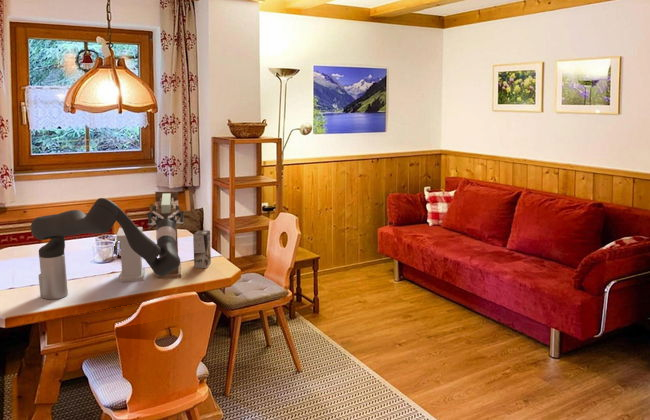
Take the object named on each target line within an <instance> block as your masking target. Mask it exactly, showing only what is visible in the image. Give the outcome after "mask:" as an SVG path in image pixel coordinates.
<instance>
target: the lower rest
mask: <svg viewBox="0 0 650 420" xmlns="http://www.w3.org/2000/svg"><path fill="white" fill-rule="evenodd" d="M137 227H138V229H139V230H140V231H141V232H142V233H143V234H144V229H143V226H137ZM115 237H116V239H115V240H116V241H118V240H120V249H121V257H120V263H121V271H120V275H119V278H118V279H119V281H118V282H119V283H124V282H140V281H141V282H142V281H144V279H145V275H146V272H145V270H146V269H145V268H143V258H142V257H141V256H139V255H138V254H137V253H136V252H134V251H133V250H132V248H131V247H130V245H129V243H128V241H127V238H126V236H125V233H124V231H123V229H122V227H118V231H117V233H116V236H115Z"/></svg>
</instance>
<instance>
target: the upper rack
mask: <svg viewBox="0 0 650 420" xmlns="http://www.w3.org/2000/svg"><path fill="white" fill-rule="evenodd" d="M154 193H155V194H154V195H155V201H154V202H155V203H154V206H155V205H156V213H159V214H160V215H161V216H162V215H171V214H172V213H174V212H176V205H177V206H179V192H178V190H166V191H164V190H163V191H161V190H160V191H154ZM166 193H171V209H170V213H162V211H161V203H162V194H166ZM176 220H178V218H177V219H176ZM178 244H179V243H178V224H176V240H175V248H176V251H177V253H178V254H179V246H178ZM159 257H161V256H160V255H159V256H158V258H159ZM181 265H182V264H181V261H180V265H179V267H178V268H177V269H175V270H174V271H172V272H170V273H169V274H167V275H165V276H158V275H157V279H158V280H161V279H175V278H176V279H177V277H179V278H182V269H181V268H182V266H181Z"/></svg>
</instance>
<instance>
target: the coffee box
mask: <svg viewBox="0 0 650 420" xmlns="http://www.w3.org/2000/svg"><path fill="white" fill-rule="evenodd" d="M192 245H193V267H194V268H195V269H199V268H200V269H207V268H208V267H209V266H210V265H211V263H212V254H211V253H212V252H211V250H212V249H211V230H196V232H195V233H193V244H192Z"/></svg>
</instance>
